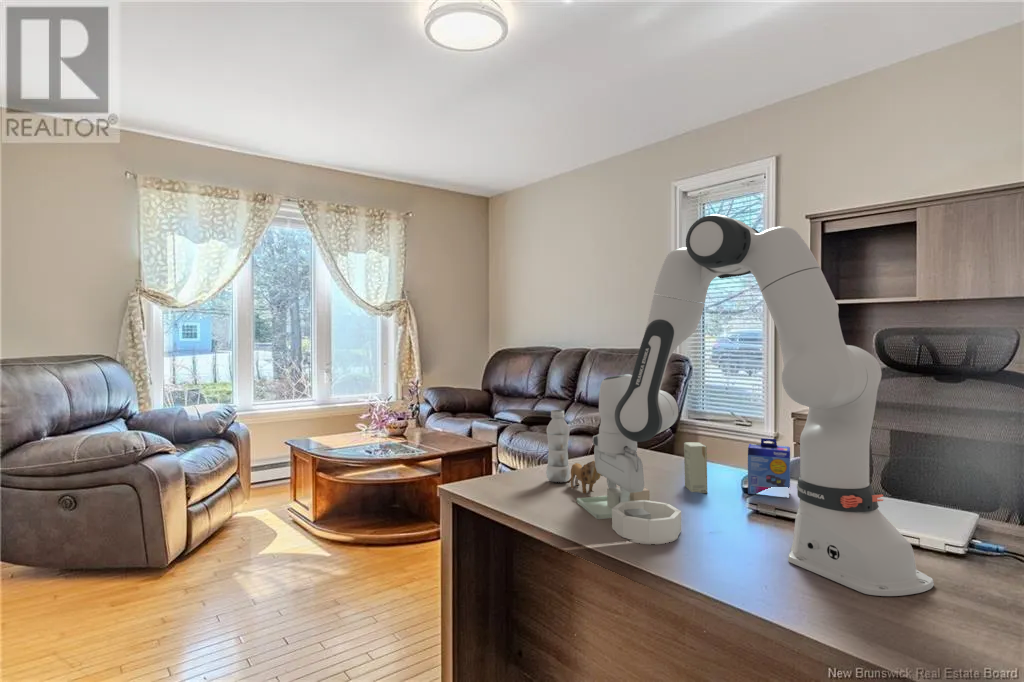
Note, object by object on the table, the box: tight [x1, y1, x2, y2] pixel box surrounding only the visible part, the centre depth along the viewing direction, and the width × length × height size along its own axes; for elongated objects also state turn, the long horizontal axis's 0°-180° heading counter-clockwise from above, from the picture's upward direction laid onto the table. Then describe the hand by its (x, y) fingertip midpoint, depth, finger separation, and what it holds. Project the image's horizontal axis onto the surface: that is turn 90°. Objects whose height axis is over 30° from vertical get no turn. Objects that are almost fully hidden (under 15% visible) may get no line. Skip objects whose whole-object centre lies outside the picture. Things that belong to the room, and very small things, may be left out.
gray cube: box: [624, 508, 651, 519], centre depth 117 cm, size 4×4×4 cm
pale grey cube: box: [606, 487, 630, 508], centre depth 134 cm, size 4×4×4 cm
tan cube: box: [630, 486, 651, 501], centre depth 135 cm, size 4×4×4 cm
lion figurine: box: [565, 460, 603, 494], centre depth 149 cm, size 15×5×9 cm, turn 31°
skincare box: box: [683, 441, 708, 494], centre depth 149 cm, size 6×4×12 cm
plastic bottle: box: [545, 409, 571, 483], centre depth 158 cm, size 6×7×20 cm
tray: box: [576, 495, 612, 520], centre depth 134 cm, size 13×16×1 cm
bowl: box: [611, 500, 682, 545], centre depth 118 cm, size 13×13×5 cm
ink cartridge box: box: [747, 437, 791, 495], centre depth 145 cm, size 10×6×14 cm, turn 64°
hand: (618, 501), depth 134 cm, fingers closed on pale grey cube, 4 cm apart
